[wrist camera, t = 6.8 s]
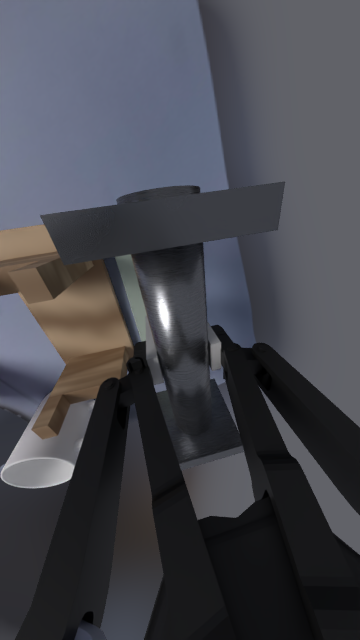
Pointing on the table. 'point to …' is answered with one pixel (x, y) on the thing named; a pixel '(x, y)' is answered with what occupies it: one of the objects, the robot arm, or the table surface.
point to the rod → (174, 290)
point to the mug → (48, 450)
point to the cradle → (67, 318)
